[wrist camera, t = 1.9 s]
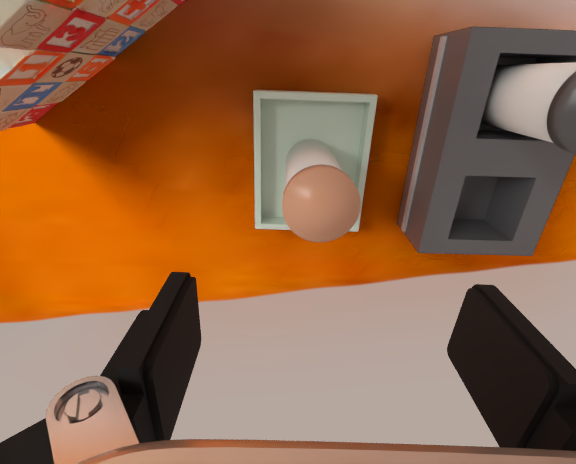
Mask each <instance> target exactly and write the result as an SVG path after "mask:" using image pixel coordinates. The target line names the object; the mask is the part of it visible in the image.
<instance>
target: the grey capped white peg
mask: <svg viewBox="0 0 576 464" xmlns="http://www.w3.org/2000/svg"><path fill="white" fill-rule="evenodd" d="M481 124H485V125H488V126H492V127H496V128H500V129H503V130H507V131H511V132H515V133H518V134H522V135H526V136H529V137H533V138H537V139H541V140H544V141H548V142H552V143H554V144H555V145H556V146H558V147H559V148H561V149H563V150H565V151H569V152H572V153H576V62H575V63H543V64H510V65H497V66H496V69H495V73H494V76H493V80H492V84H491V87H490V91H489V94H488V98H487V101H486V105H485V108H484V112H483V116H482V119H481Z"/></svg>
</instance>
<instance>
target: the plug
mask: <svg viewBox="0 0 576 464" xmlns="http://www.w3.org/2000/svg"><path fill="white" fill-rule="evenodd" d="M360 208H361V200H360V195H359V192H358V190H357V188H356V186H355V184H354V183H353V181H352V180H351V178H350V177H349V176H348V175H347V174H346V173H345V172H344V171H342V169H341V168H340V166H339V164H338V162H337V161H336V159H335V157H334V155H333V154H332V152H331V150H330V149H329V147H328V146H327V145H326V144H324V143H323V142H321V141H319V140H316V139H305V140H302V141H299V142H298V143H296V144H295V145H294V146H293V147H292V148H291V149H290V150H289V152H288V155H287V158H286V187H285V190H284V193H283V200H282V211H283V216H284V219H285V222H286V224H287V225H288V227H289V228H290V229H291V231H292V232H294V233H295V234H296V235H297V236H299V237H300V238H303V239H305V240H308V241H312V242H328V241H332V240H335V239H337V238H339V237H341V236H343V235H344V234H346V233H347V232H348V231H349V230H350V229H351V228H352V227H353V225H354V224H355V223H356V221H357V219H358V216H359V213H360Z"/></svg>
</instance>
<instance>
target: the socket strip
mask: <svg viewBox="0 0 576 464" xmlns="http://www.w3.org/2000/svg"><path fill="white" fill-rule="evenodd" d="M575 62H576V31H573V30H548V29H522V28H497V27H469V28H465V29H461V30H456V31H452V32H448V33H444V34H440V35H436V36H434V39H433V44H432V49H431V54H430V59H429V64H428V69H427V74H426V79H425V84H424V89H423V94H422V99H421V104H420V109H419V114H418V119H417V124H416V130H415V135H414V140H413V145H412V150H411V155H410V160H409V165H408V170H407V175H406V180H405V185H404V190H403V195H402V200H401V205H400V210H399V215H398V220H397V224H398V226H399V227H400V228H401V230H402V231H403V232H404V234H405V235H406V237H407V238H408V239H409V241H410V242H411V243H412V245H413V246H414V248H415V249H416V250H417V252H418V253H443V254H480V255H517V256H532V255H533V253H534V251H535V248H536V246H537V244H538V241H539V239H540V236H541V234H542V232H543V229H544V227H545V225H546V222H547V220H548V217H549V215H550V213H551V210H552V208H553V205H554V203H555V201H556V198H557V196H558V194H559V191H560V189H561V186H562V184H563V182H564V179H565V177H566V175H567V172H568V170H569V167H570V165H571V163H572V160H573V158H574V156H575V153H572V152H569V151H565V150H563V149H561V148H559V147H558V146H556V145H555V144H554V143H552V142H548V141H544V140H541V139H537V138H533V137H529V136H526V135H522V134H518V133H515V132H511V131H507V130H503V129H500V128H496V127H492V126H488V125H485V124H481V119H482V116H483V112H484V108H485V105H486V101H487V98H488V94H489V91H490V87H491V84H492V80H493V76H494V73H495V69H496V66H497V65H510V64H543V63H575Z"/></svg>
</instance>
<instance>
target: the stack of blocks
mask: <svg viewBox="0 0 576 464" xmlns="http://www.w3.org/2000/svg"><path fill="white" fill-rule="evenodd" d="M185 1H186V0H0V131H2V130H6V129H7V128H13V127H18V126H23V125H27V124H31V123H35V122H36V121H37V120H38V119H39V118H41V117H42V116H43V115H44V114H45V113H47V112H48V111H49V110H50V109H51V108H53V107H54V106H55V105H56V104H57V103H58V102H62V101H63V100H64V99H66V98H67V97H68V96H69V95H71V94H72V93H73V92H74V91H75V90H77V89H78V88H79V87H80V86H82V85H83V84H84V83H85V82H86V81H87V80H89V79H90V78H92V77H93V76H94V75H95V74H97V73H98V72H99V71H100V70H102V69H103V68H104V67H105V66H107V65H108V64H109V63H110V62H112V61H113V60H114V59H115V58H116V56H117V55H118V54H120V53H121V52H122V51H123V50H124V49H126V48H127V47H128V46H129V45H131V44H132V43H133V42H134V41H136V40H137V39H138V38H139V37H141V36H142V35H143V34H144V33H145V32H146V31H147V30H148V29H150V28H151V27H152V26H154V25H155V24H156V23H157V22H159V21H160V20H161V19H162V18H163V17H165V16H166V15H167V14H168V13H170V12H171V11H172V10H173V9H174V8H176V7H177V6H178V5H181V4H183V3H184V2H185Z"/></svg>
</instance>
